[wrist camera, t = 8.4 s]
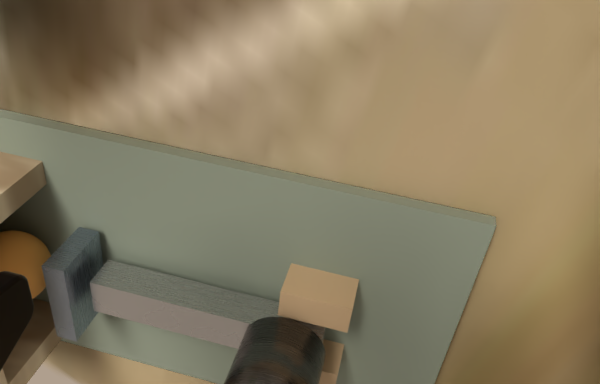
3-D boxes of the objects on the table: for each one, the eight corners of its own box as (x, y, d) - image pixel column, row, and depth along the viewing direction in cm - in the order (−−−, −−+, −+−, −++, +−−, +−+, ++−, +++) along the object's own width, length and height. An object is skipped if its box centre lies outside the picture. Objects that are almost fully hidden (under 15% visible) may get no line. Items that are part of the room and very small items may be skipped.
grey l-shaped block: (340, 290, 24) (307, 423, 18) (326, 356, 26) (294, 490, 21) (79, 226, 25) (-22, 331, 20) (89, 294, 28) (3, 403, 22)
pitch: (495, 216, 21) (499, 256, 19) (413, 427, 29) (410, 470, 27) (-39, 100, 24) (-83, 124, 22) (20, 319, 32) (-8, 351, 30)
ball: (-56, 238, 24) (20, 206, 27) (-37, 294, 26) (33, 260, 29) (-16, 277, 23) (62, 239, 25) (1, 334, 25) (72, 293, 27)
